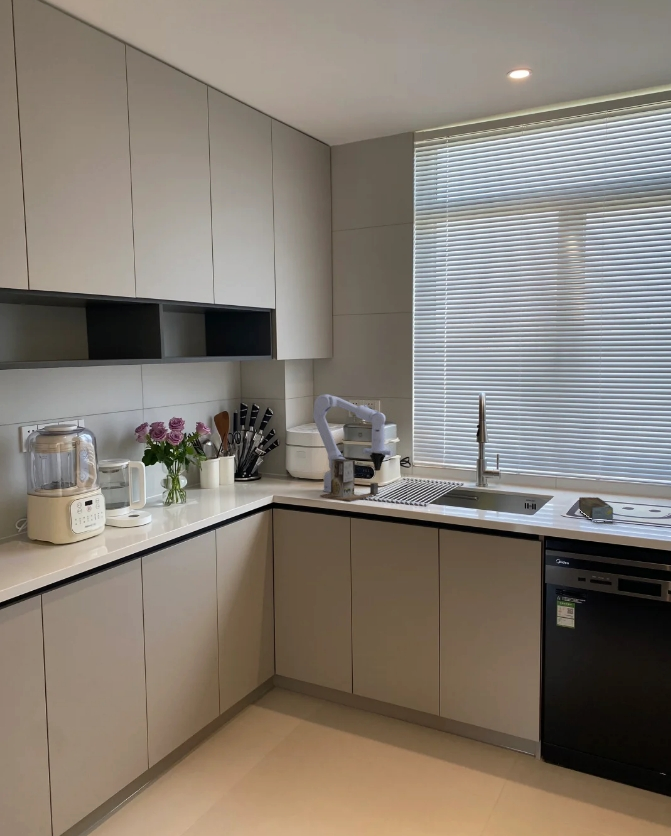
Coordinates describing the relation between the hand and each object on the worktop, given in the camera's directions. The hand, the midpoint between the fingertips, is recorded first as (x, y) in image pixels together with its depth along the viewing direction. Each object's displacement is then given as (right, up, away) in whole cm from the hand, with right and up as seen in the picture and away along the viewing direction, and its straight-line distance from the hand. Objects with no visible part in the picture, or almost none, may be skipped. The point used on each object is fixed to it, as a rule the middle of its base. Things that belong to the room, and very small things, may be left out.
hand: (377, 470), depth 310 cm
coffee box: (-16, -11, -8) cm, 21 cm away
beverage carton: (+81, -15, -42) cm, 92 cm away
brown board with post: (-13, -11, -6) cm, 18 cm away
